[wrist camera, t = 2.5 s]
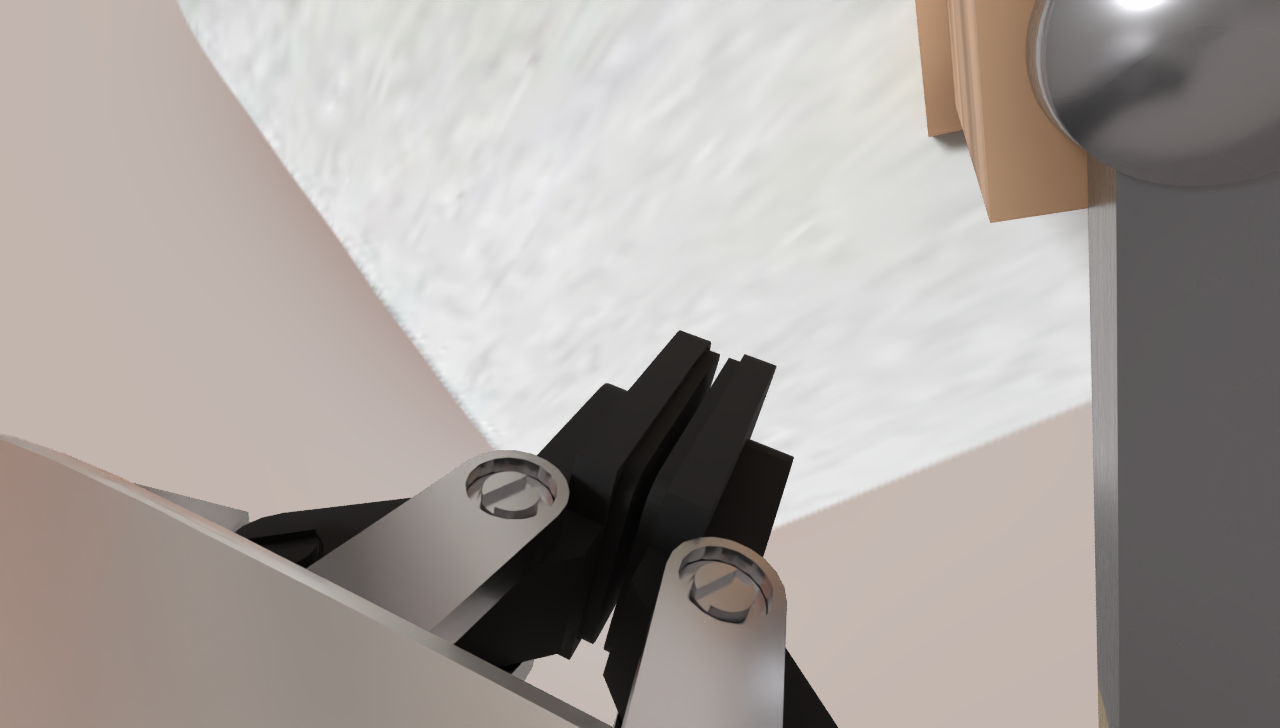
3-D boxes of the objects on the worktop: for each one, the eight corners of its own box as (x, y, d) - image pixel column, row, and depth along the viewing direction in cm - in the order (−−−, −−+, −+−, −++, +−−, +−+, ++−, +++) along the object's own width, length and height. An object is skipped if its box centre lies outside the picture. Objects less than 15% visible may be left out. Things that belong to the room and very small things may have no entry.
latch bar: (1019, -80, 8) (1038, -107, 6) (1374, -194, 6) (1508, -264, 5) (1058, 735, 12) (1075, 835, 11) (1275, 764, 11) (1330, 883, 9)
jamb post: (1109, -62, 23) (1616, -337, 6) (1110, 95, 24) (1505, 233, 7) (915, -5, 25) (877, -81, 8) (928, 133, 27) (920, 300, 10)
